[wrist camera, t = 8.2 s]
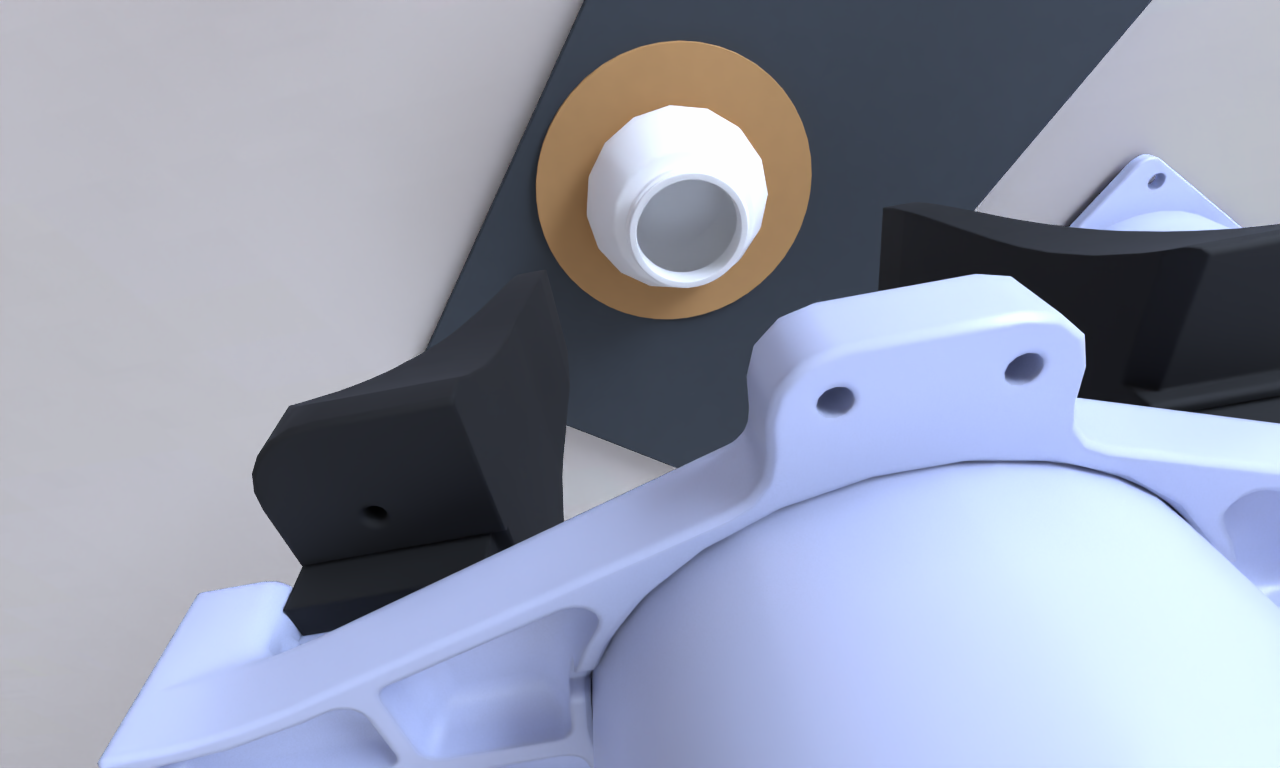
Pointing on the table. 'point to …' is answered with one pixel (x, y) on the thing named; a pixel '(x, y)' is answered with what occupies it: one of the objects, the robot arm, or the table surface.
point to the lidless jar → (676, 197)
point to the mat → (793, 168)
